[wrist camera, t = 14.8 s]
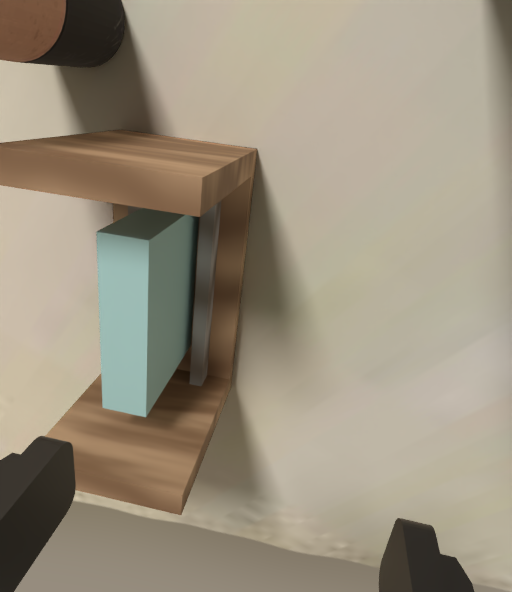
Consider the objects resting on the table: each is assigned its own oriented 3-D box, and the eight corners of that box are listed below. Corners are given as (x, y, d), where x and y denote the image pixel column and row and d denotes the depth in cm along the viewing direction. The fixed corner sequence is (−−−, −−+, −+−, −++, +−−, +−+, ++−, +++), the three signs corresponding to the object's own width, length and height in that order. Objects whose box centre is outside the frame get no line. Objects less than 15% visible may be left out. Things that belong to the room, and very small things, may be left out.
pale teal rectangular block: (160, 198, 38) (96, 231, 28) (199, 204, 38) (149, 240, 28) (156, 339, 44) (102, 407, 34) (190, 345, 43) (145, 417, 33)
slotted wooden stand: (119, 129, 38) (-17, 144, 23) (257, 149, 36) (202, 177, 22) (122, 365, 48) (27, 478, 33) (230, 387, 46) (181, 515, 32)
